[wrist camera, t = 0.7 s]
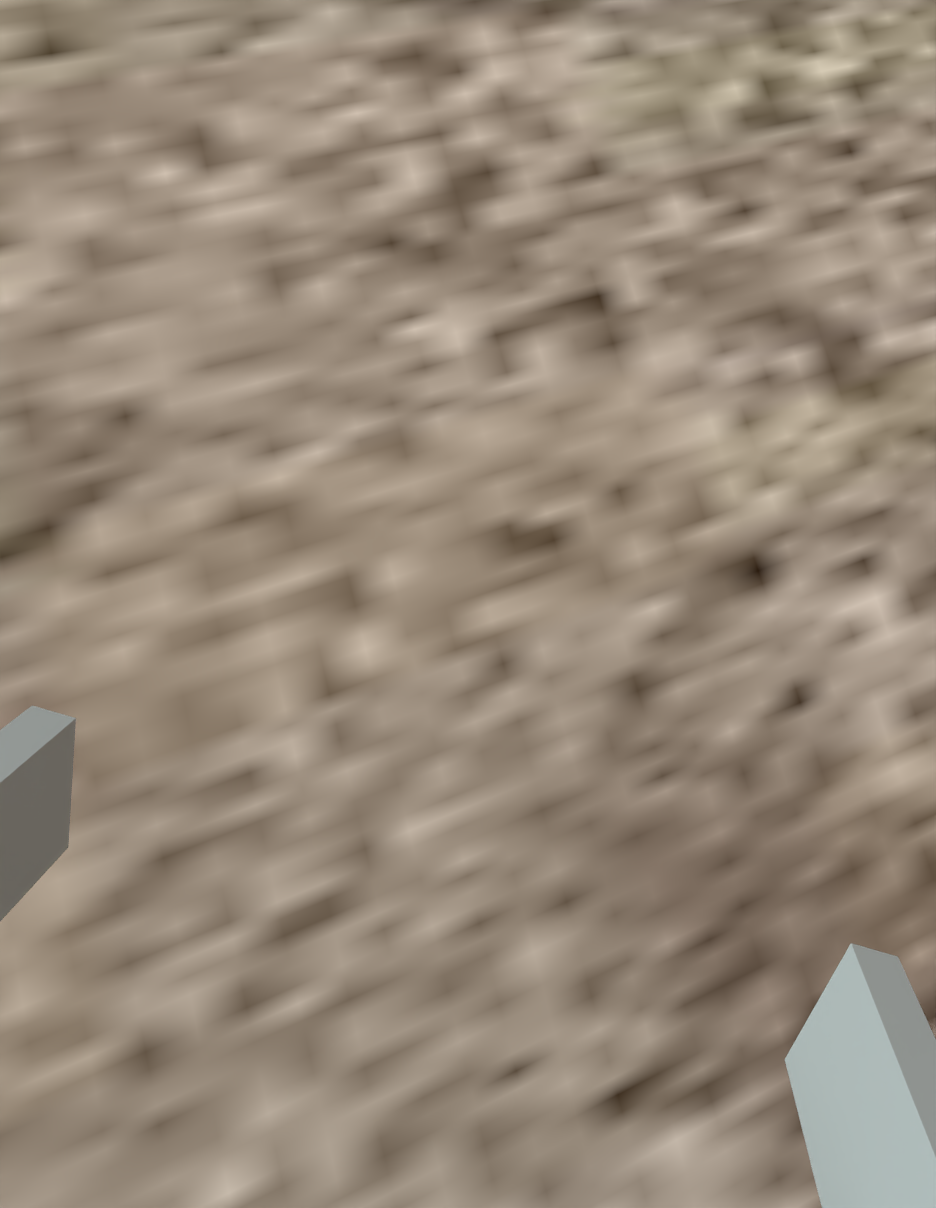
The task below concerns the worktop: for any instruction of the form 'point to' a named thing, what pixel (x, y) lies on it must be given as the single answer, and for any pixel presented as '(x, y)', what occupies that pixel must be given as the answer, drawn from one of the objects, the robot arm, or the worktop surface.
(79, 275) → the worktop surface
